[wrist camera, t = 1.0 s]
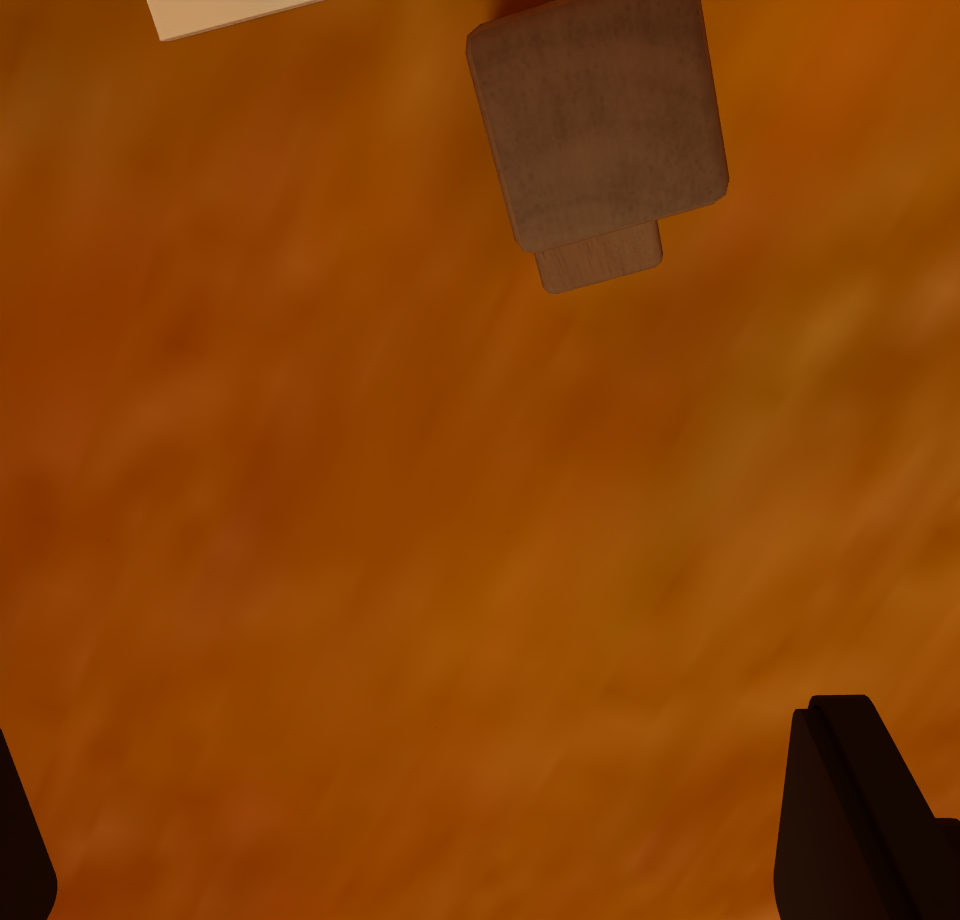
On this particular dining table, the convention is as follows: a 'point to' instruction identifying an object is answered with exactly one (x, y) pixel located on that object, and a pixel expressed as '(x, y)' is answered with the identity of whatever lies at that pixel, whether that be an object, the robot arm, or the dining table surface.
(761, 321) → the dining table surface
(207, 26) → the dock tray
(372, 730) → the dining table surface
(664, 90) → the wooden block
